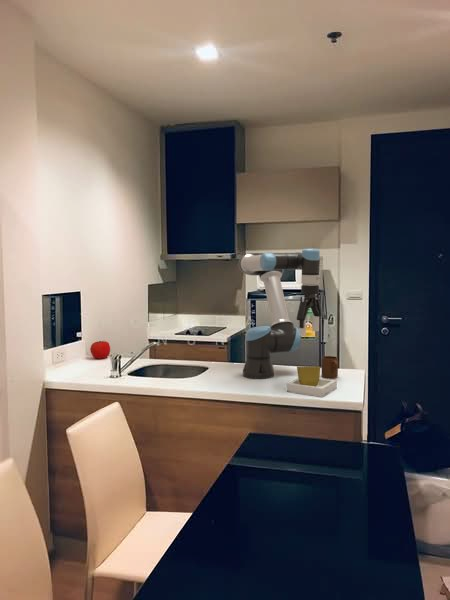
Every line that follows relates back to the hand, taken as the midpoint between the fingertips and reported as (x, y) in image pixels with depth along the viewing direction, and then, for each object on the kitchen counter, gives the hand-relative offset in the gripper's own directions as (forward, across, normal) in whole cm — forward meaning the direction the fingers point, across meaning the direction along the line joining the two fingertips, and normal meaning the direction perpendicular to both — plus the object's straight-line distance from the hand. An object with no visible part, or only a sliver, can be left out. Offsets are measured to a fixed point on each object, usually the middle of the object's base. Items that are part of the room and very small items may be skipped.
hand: (309, 333), depth 220 cm
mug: (+24, +19, -3) cm, 31 cm away
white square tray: (+23, -6, -4) cm, 24 cm away
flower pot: (+22, -8, -4) cm, 24 cm away
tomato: (+27, -6, +126) cm, 129 cm away
